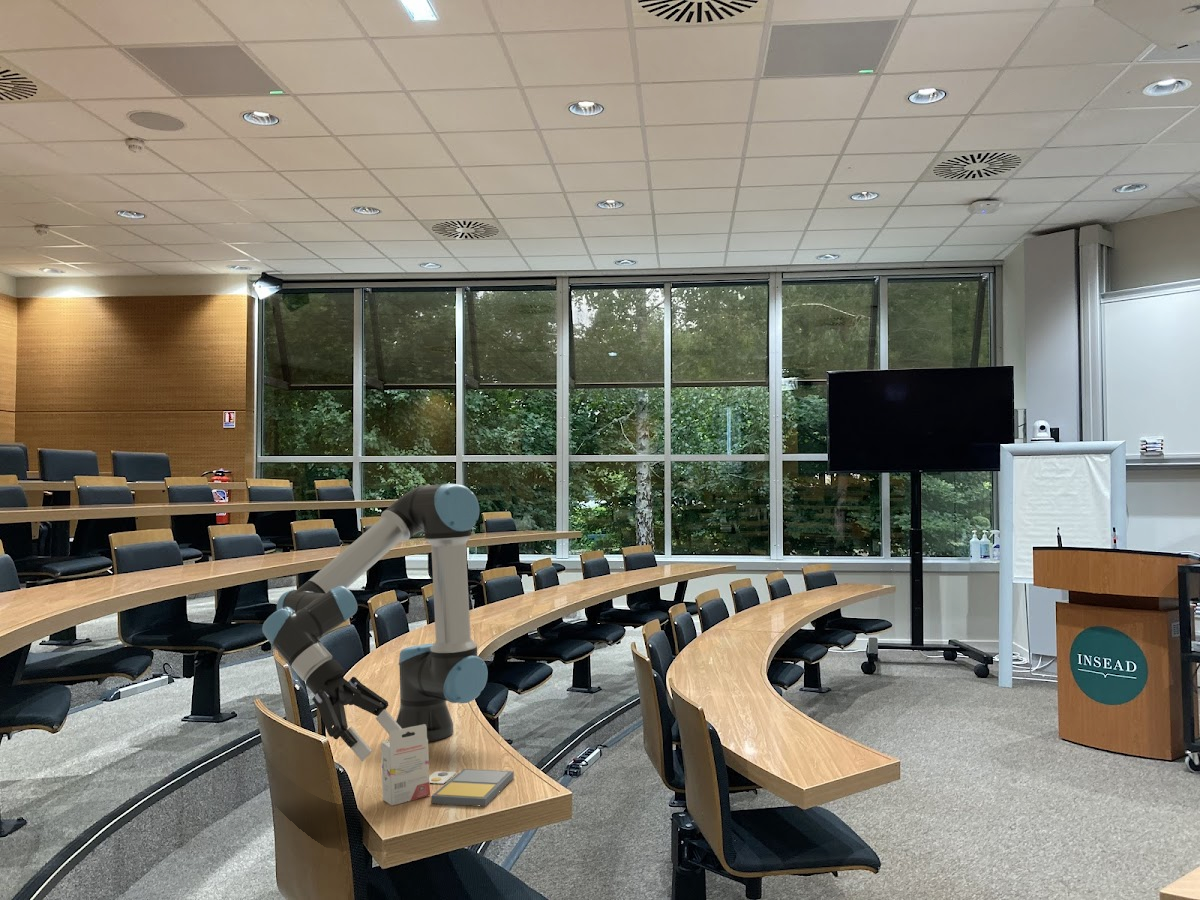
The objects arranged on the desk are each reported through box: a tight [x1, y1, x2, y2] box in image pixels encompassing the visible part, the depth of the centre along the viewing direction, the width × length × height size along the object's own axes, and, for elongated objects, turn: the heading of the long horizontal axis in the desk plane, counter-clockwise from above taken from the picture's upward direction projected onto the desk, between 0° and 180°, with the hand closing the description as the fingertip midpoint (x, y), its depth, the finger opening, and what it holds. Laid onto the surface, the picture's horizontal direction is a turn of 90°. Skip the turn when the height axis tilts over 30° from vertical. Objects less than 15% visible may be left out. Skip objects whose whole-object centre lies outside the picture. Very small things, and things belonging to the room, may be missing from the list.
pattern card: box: [429, 770, 458, 785], centre depth 182 cm, size 7×5×1 cm
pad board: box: [430, 768, 515, 807], centre depth 174 cm, size 17×12×2 cm
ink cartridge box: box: [380, 724, 431, 806], centre depth 171 cm, size 9×5×15 cm, turn 126°
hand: (384, 746), depth 171 cm, fingers open, 13 cm apart
